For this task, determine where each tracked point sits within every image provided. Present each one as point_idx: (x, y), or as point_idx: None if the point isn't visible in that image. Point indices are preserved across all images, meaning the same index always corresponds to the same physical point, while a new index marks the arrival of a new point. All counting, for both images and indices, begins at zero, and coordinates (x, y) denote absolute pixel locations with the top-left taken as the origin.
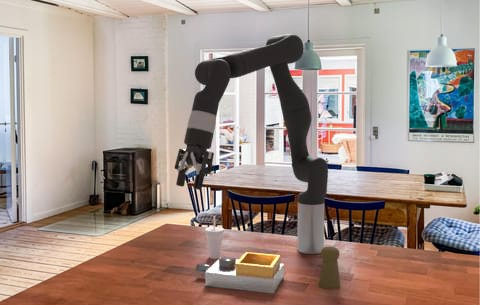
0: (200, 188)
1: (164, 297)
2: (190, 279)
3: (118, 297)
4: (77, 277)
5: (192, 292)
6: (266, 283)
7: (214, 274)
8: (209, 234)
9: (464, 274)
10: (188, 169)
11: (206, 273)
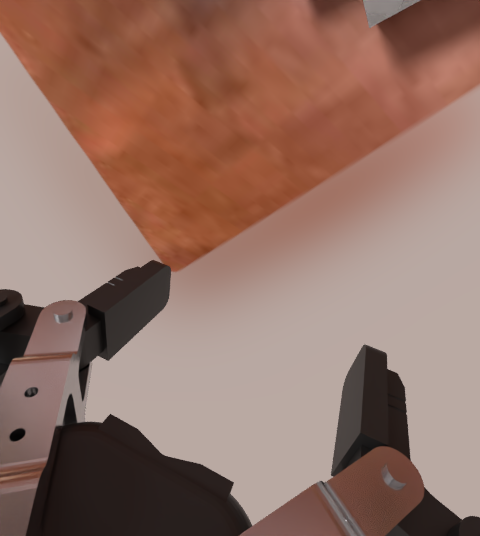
0: (383, 360)
1: (328, 160)
2: (297, 17)
3: (257, 207)
4: (136, 187)
5: (370, 92)
6: None
7: (409, 5)
8: None
9: None
10: (80, 342)
11: (374, 24)
